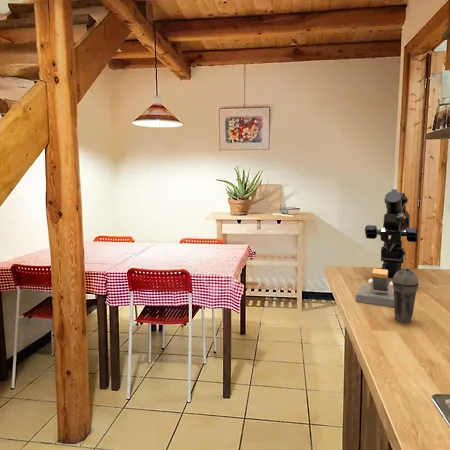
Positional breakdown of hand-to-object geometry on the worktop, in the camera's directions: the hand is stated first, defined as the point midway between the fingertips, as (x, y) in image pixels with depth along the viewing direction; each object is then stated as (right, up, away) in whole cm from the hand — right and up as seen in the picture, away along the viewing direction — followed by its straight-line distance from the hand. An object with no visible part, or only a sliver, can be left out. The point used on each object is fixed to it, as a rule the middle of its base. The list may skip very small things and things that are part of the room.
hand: (388, 251), depth 153 cm
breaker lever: (-8, -12, -13) cm, 19 cm away
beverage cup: (-8, -19, -30) cm, 36 cm away
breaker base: (-8, -16, -12) cm, 21 cm away
